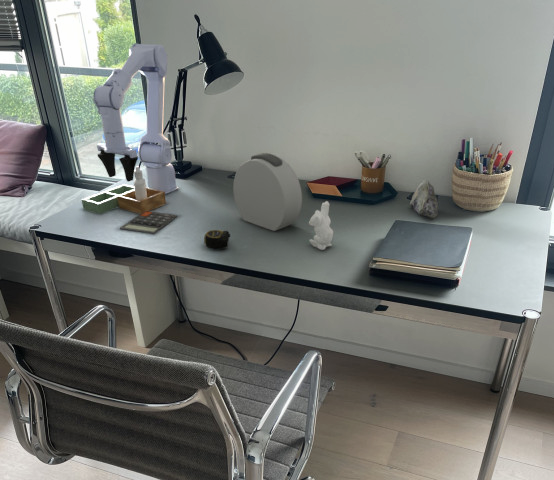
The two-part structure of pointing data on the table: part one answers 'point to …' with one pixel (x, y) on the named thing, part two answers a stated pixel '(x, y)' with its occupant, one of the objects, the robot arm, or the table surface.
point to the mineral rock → (425, 200)
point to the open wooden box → (142, 201)
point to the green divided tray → (105, 199)
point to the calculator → (149, 222)
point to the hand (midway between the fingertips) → (121, 178)
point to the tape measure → (216, 239)
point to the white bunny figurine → (321, 227)
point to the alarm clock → (267, 192)
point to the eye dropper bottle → (139, 185)
